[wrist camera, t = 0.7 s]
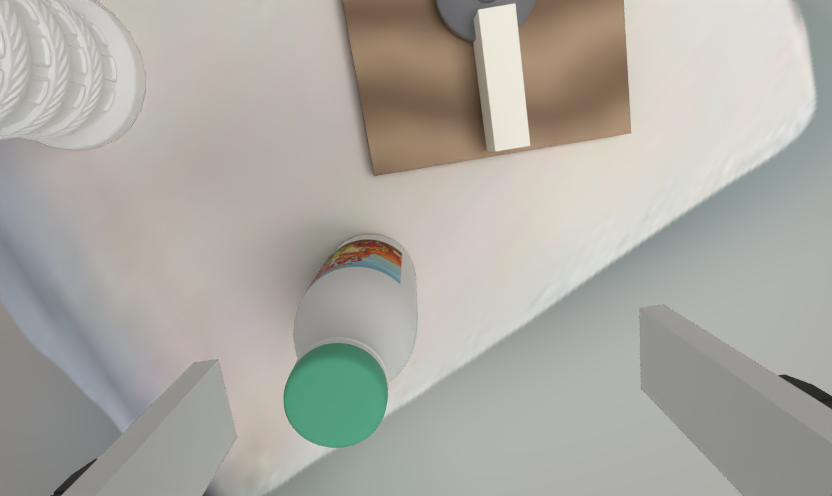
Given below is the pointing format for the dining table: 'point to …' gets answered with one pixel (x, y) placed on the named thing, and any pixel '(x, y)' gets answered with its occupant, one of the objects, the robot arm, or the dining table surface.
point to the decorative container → (67, 73)
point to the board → (458, 83)
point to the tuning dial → (495, 63)
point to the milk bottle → (351, 341)
